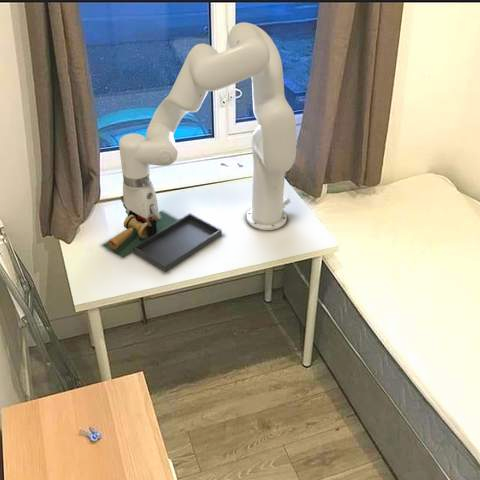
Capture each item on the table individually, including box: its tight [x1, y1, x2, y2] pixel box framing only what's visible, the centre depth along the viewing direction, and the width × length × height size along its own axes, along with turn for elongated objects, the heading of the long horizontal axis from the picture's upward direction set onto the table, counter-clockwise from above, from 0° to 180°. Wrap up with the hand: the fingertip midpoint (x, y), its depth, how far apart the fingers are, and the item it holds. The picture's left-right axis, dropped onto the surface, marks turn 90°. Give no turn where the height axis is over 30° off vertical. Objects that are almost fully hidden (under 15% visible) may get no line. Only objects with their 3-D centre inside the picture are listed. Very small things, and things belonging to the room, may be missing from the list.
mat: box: [103, 211, 179, 258], centre depth 180 cm, size 23×8×1 cm, turn 142°
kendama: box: [107, 214, 153, 249], centre depth 175 cm, size 8×6×18 cm
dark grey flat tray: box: [132, 212, 223, 273], centre depth 176 cm, size 23×13×2 cm, turn 142°
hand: (142, 228), depth 178 cm, fingers closed on kendama, 7 cm apart
